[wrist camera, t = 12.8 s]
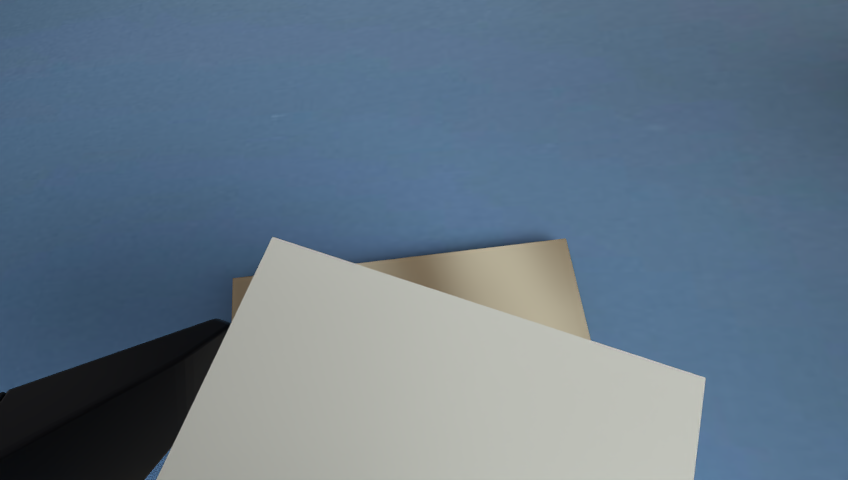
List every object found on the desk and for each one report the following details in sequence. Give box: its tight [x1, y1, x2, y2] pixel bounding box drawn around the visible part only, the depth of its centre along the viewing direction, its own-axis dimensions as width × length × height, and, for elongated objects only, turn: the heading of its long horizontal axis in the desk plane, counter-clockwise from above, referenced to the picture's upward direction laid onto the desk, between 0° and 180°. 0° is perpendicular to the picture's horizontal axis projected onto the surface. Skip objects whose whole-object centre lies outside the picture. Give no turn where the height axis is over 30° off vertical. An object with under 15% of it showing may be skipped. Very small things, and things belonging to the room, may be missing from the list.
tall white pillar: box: [156, 237, 706, 480], centre depth 10 cm, size 6×6×12 cm
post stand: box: [232, 239, 591, 340], centre depth 15 cm, size 14×14×4 cm
